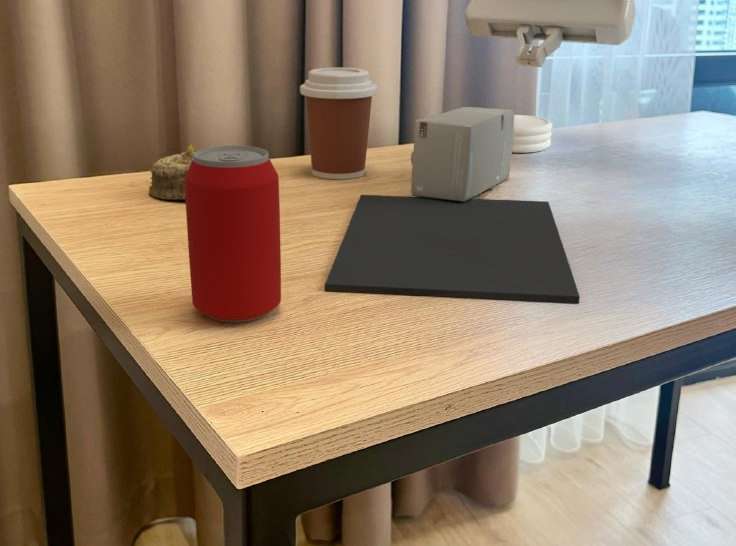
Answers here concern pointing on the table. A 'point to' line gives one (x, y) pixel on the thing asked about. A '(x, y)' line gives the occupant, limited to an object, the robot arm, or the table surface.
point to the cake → (171, 175)
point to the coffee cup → (338, 120)
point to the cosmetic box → (461, 152)
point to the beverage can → (233, 232)
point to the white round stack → (531, 134)
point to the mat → (453, 250)
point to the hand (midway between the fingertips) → (528, 63)
